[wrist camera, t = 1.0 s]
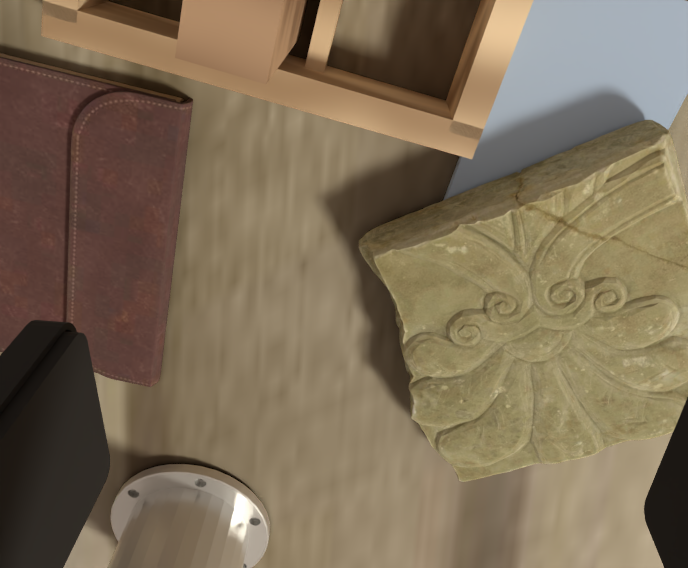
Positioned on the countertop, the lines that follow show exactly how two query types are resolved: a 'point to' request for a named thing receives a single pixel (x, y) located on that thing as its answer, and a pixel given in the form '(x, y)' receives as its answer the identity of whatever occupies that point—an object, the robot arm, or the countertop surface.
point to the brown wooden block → (239, 35)
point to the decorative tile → (546, 305)
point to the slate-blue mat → (581, 82)
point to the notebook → (90, 211)
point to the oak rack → (320, 69)
